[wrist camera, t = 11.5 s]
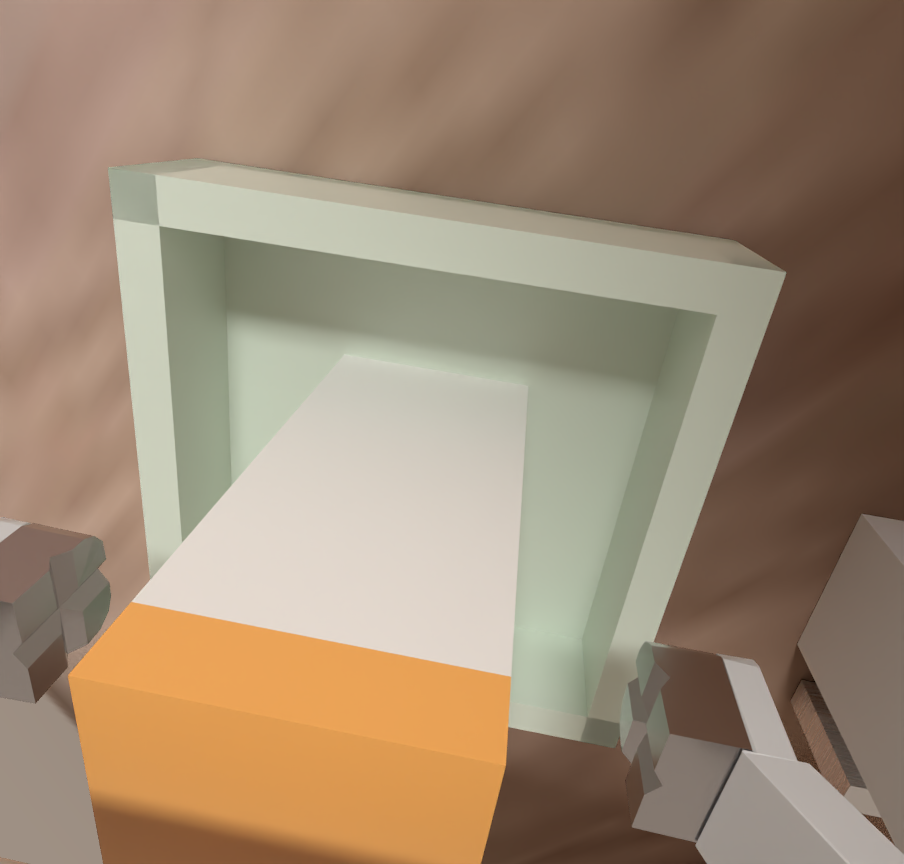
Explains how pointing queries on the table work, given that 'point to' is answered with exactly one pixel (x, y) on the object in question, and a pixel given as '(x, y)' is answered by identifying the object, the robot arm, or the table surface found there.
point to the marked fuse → (324, 641)
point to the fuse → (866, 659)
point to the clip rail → (830, 747)
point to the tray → (456, 351)
